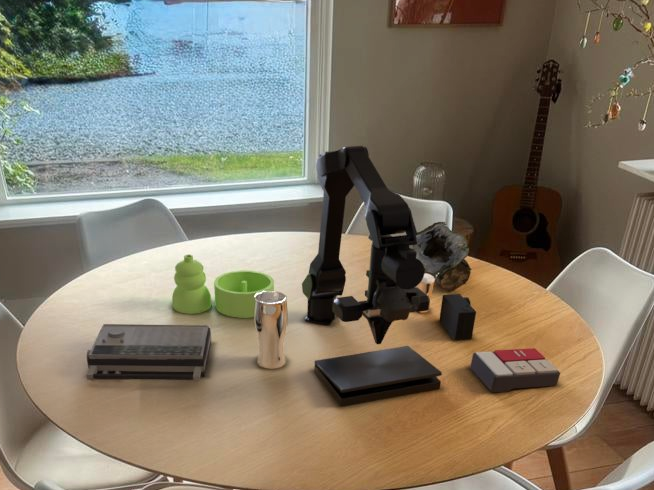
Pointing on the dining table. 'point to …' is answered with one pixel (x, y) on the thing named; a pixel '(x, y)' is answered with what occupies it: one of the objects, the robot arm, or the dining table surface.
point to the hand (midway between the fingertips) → (377, 343)
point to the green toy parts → (217, 290)
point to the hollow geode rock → (443, 255)
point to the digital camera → (457, 316)
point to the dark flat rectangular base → (378, 390)
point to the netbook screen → (376, 368)
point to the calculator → (514, 369)
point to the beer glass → (270, 327)
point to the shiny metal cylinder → (427, 285)
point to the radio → (150, 352)
